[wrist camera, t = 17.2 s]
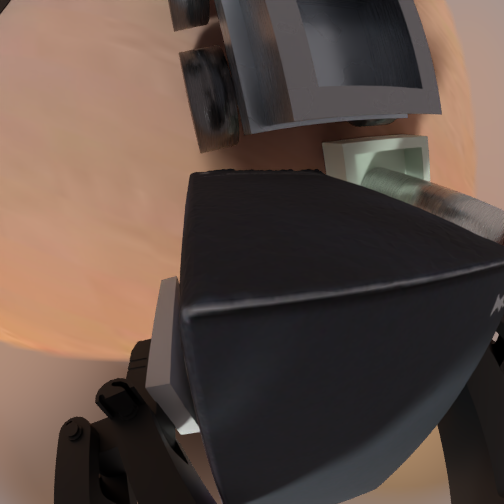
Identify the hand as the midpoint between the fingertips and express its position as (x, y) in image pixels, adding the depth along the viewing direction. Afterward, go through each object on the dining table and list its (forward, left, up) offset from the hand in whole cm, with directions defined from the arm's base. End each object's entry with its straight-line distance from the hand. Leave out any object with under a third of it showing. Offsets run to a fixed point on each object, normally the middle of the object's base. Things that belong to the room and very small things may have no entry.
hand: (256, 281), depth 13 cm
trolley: (-13, +5, -7) cm, 16 cm away
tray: (-1, +11, -7) cm, 13 cm away
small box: (0, 0, -1) cm, 1 cm away
